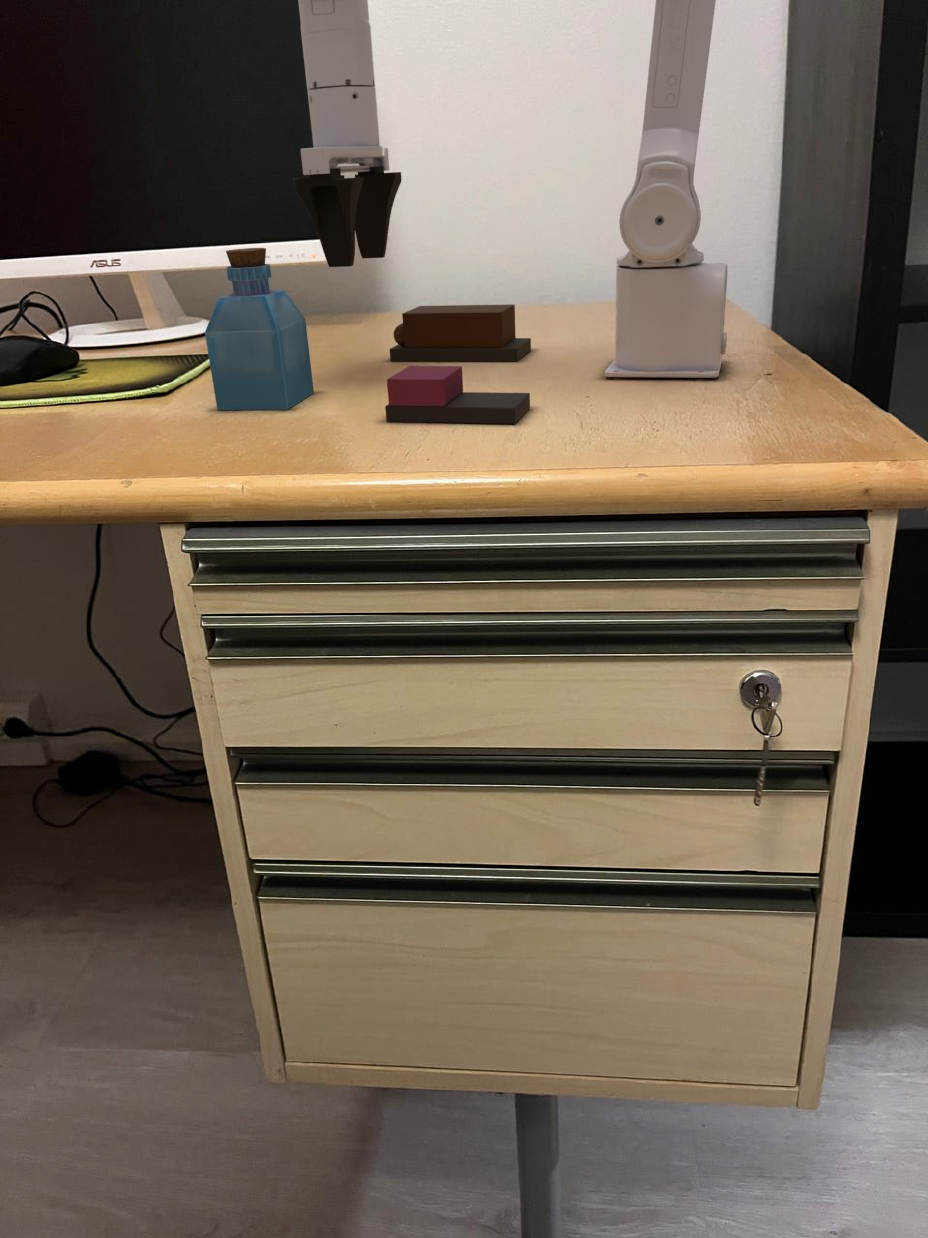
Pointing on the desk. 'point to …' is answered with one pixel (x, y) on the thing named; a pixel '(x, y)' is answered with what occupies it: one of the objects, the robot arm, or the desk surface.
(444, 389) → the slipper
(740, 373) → the desk surface
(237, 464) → the desk surface
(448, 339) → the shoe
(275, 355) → the perfume bottle
